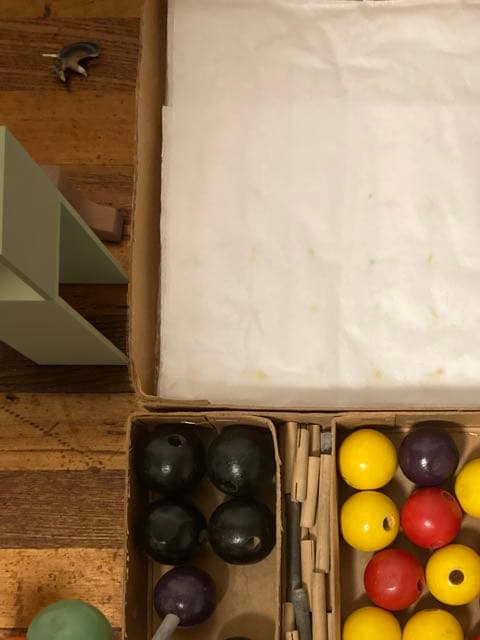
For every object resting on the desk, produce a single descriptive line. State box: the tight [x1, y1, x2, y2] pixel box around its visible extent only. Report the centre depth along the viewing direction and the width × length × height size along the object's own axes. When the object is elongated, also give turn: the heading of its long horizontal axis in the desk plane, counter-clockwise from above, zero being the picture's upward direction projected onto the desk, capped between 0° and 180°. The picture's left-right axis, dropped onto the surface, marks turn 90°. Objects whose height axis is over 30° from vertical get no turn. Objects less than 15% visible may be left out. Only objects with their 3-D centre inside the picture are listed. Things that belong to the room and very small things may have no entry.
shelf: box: [0, 125, 131, 366], centre depth 126 cm, size 16×16×49 cm
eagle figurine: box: [41, 40, 101, 82], centre depth 150 cm, size 8×7×9 cm
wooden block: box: [36, 162, 125, 243], centre depth 142 cm, size 9×4×18 cm, turn 83°
